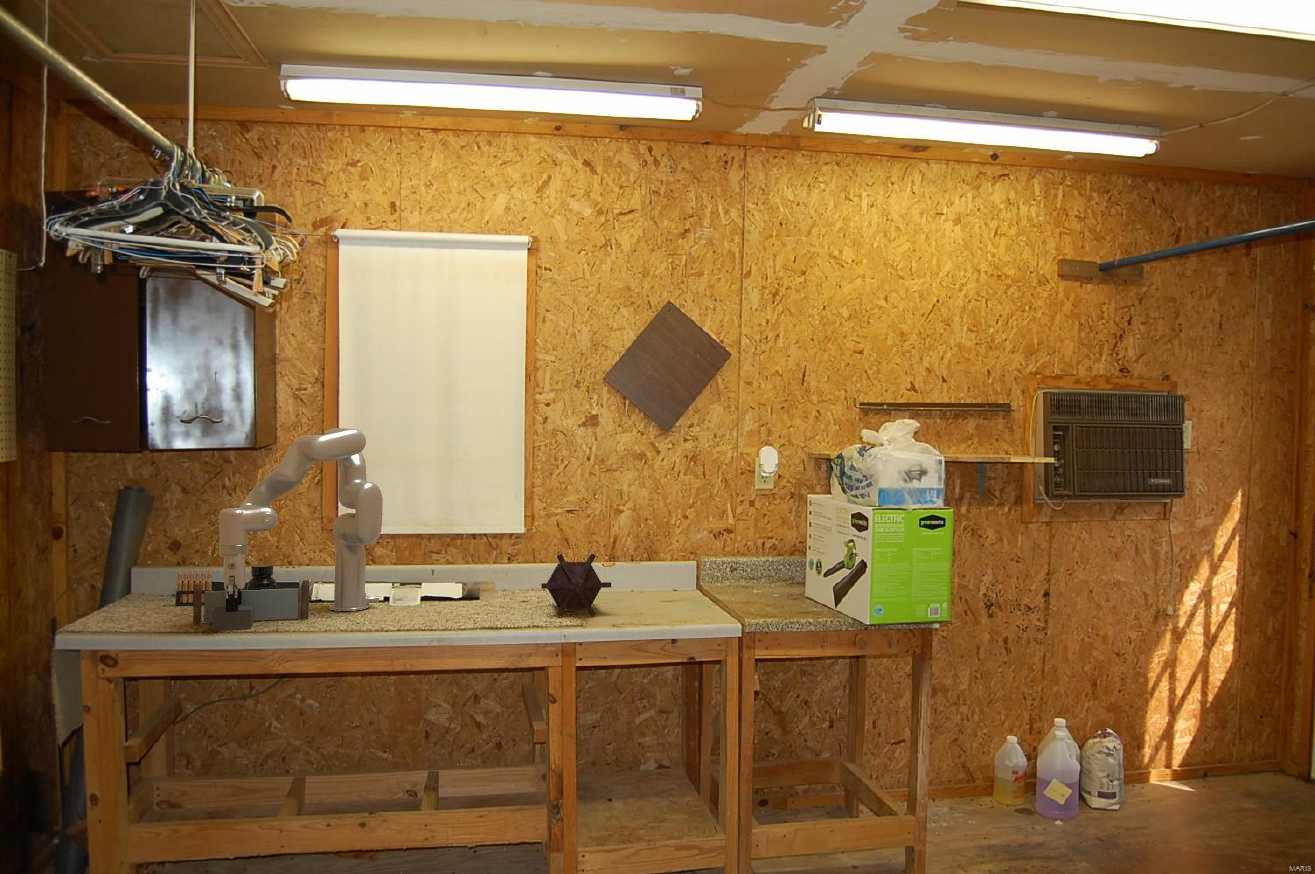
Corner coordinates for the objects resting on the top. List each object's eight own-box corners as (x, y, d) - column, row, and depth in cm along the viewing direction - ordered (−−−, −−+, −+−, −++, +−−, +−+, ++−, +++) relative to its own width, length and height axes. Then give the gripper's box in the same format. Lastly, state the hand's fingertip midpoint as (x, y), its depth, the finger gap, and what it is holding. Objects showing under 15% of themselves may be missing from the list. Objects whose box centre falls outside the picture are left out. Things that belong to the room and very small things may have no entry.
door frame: (308, 617, 262) (309, 579, 262) (308, 619, 260) (309, 580, 260) (194, 623, 251) (195, 583, 251) (193, 625, 249) (193, 585, 249)
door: (298, 617, 261) (298, 588, 261) (297, 618, 259) (298, 589, 260) (204, 620, 253) (205, 591, 253) (203, 621, 252) (204, 592, 252)
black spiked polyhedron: (599, 617, 294) (613, 622, 265) (533, 613, 290) (540, 618, 261) (604, 556, 298) (618, 554, 269) (539, 551, 293) (546, 548, 265)
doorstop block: (252, 625, 252) (253, 605, 252) (250, 629, 246) (251, 609, 246) (215, 627, 248) (215, 606, 248) (212, 631, 243) (212, 611, 243)
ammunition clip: (175, 606, 275) (175, 569, 275) (176, 605, 277) (177, 569, 277) (211, 605, 278) (211, 569, 278) (212, 604, 280) (213, 568, 280)
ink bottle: (277, 601, 286) (278, 566, 286) (248, 603, 282) (249, 568, 282) (273, 596, 295) (274, 562, 295) (245, 598, 290) (246, 564, 290)
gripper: (244, 554, 240) (245, 613, 241) (250, 545, 256) (250, 601, 257) (215, 555, 238) (215, 615, 238) (223, 546, 254) (223, 603, 254)
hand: (233, 608), depth 247 cm, fingers open, 9 cm apart
